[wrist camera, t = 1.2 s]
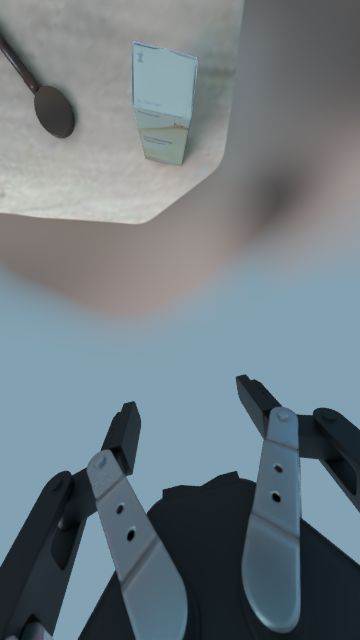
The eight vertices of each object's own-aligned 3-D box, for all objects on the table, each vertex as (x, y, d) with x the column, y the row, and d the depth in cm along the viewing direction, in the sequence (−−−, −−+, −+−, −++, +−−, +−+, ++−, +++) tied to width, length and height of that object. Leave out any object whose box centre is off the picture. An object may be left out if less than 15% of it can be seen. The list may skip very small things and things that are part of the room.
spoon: (-66, -12, 20) (-79, -26, 19) (-45, -57, 19) (-58, -74, 18) (60, 146, 27) (55, 143, 26) (81, 120, 25) (77, 115, 24)
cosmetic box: (145, 159, 28) (129, 108, 17) (146, 121, 26) (129, 36, 15) (183, 166, 28) (191, 122, 17) (187, 130, 27) (198, 54, 16)
